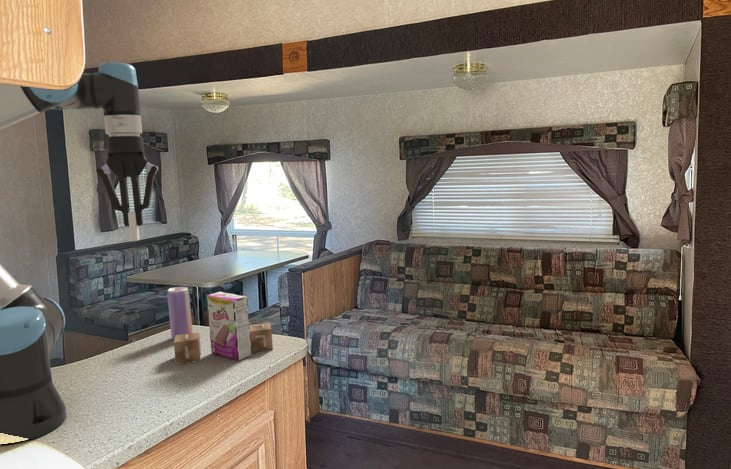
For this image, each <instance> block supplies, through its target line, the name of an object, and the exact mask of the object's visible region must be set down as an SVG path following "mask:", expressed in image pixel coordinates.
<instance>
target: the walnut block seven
mask: <svg viewBox="0 0 731 469" xmlns="http://www.w3.org/2000/svg"><path fill="white" fill-rule="evenodd" d="M249 328H250V341H251V353H257V352H265V351H273V350H274V347H273V335H272V334H273V331H272V326H271V323H270V322H263V323H254V324H253V323H252V324H249Z"/></svg>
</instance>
